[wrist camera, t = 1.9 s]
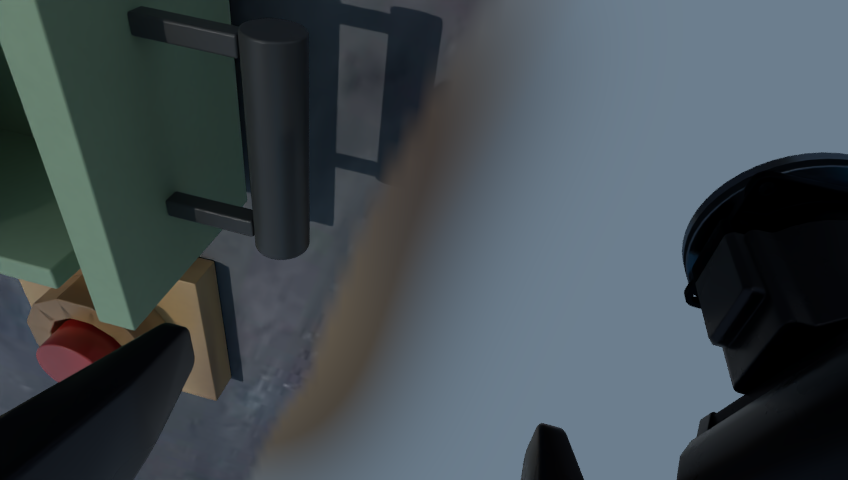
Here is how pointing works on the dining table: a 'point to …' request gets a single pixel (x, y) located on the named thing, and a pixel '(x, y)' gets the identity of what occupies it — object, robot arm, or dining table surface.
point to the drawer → (145, 142)
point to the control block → (148, 320)
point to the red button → (74, 348)
